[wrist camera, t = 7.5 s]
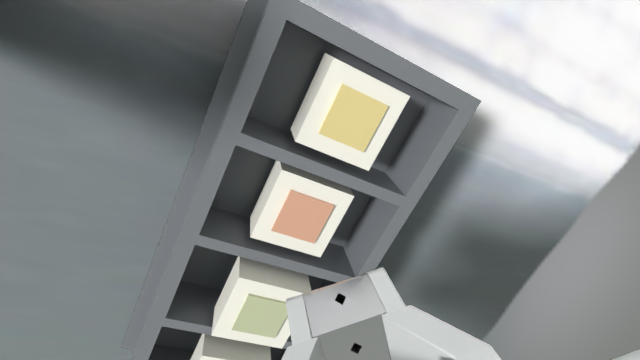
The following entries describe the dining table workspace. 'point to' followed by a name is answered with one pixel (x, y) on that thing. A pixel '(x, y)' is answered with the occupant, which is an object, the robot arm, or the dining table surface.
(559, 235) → the dining table surface
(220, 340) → the white and blue block
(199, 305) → the grey compartment tray
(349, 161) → the key
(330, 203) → the key
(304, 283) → the key
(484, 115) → the dining table surface
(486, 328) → the dining table surface
